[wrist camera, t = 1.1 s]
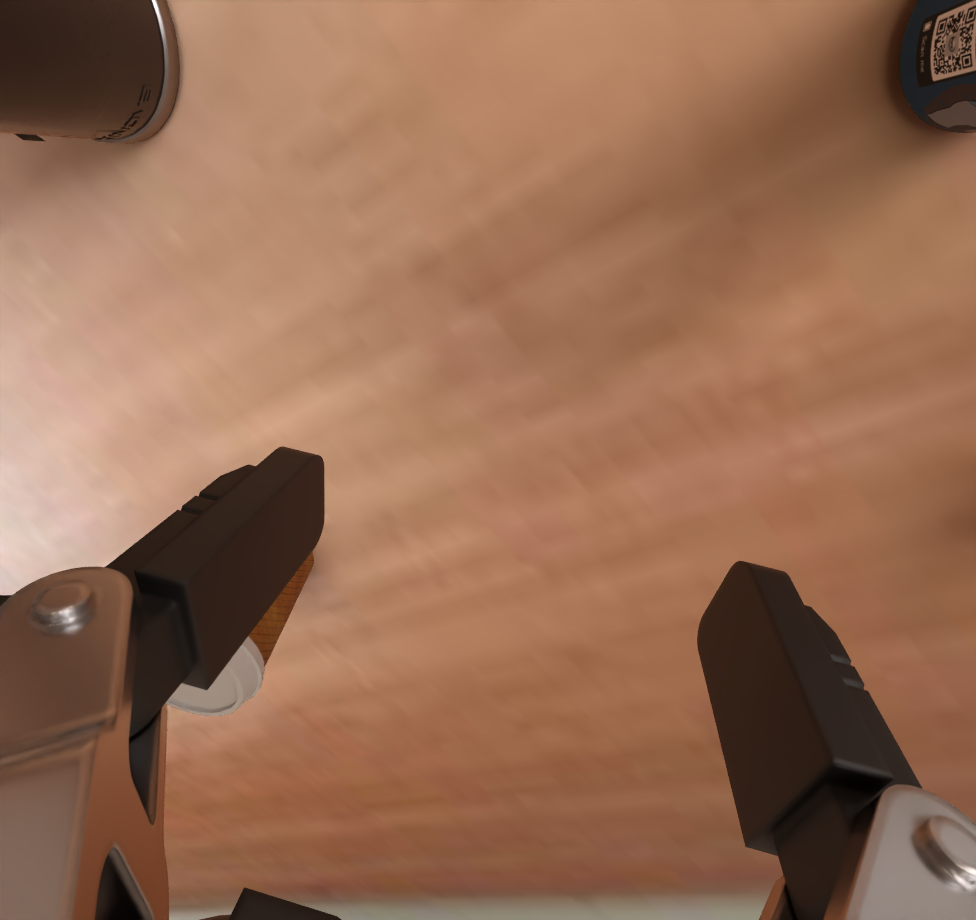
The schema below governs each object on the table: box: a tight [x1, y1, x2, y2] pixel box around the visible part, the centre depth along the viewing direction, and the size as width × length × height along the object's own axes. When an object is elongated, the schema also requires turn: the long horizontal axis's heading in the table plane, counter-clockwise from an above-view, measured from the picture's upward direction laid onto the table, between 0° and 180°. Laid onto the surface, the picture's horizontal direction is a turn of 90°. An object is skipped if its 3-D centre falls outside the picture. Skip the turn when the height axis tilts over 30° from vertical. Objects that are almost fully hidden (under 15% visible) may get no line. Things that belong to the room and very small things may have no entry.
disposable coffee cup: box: [166, 552, 314, 716], centre depth 36 cm, size 10×10×12 cm
